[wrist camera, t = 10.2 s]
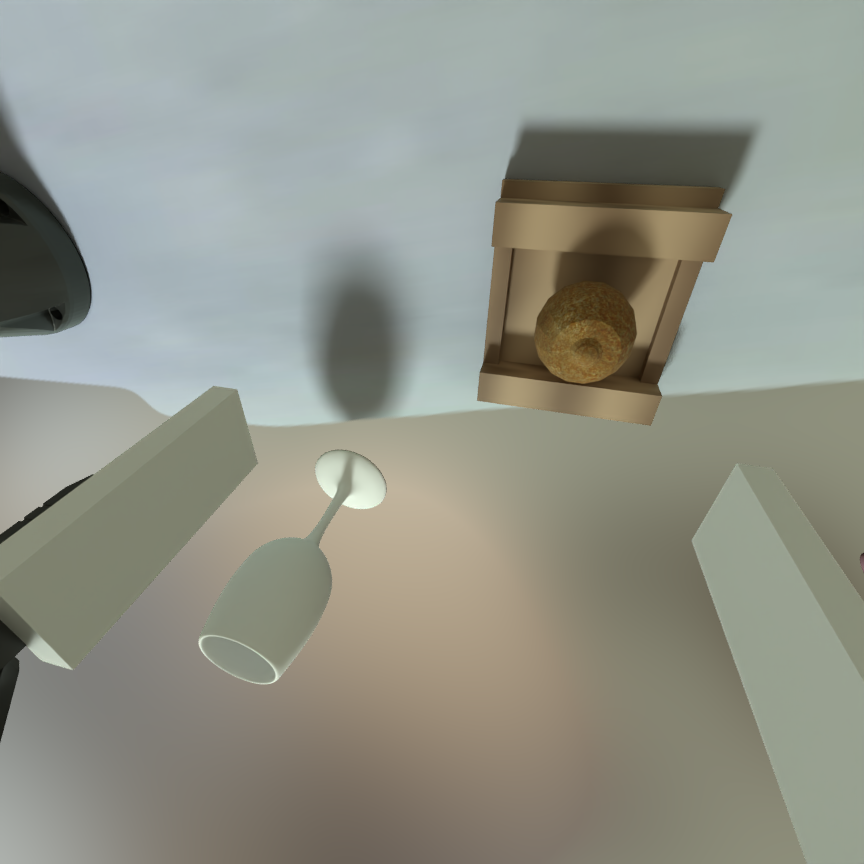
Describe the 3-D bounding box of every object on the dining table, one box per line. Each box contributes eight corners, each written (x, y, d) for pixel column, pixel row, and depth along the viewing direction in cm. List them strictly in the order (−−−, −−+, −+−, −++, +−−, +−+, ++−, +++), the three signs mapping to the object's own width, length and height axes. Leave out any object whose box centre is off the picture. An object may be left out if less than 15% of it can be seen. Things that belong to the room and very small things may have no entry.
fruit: (579, 367, 32) (584, 423, 26) (519, 317, 31) (508, 361, 25) (648, 306, 29) (673, 353, 22) (582, 247, 28) (588, 278, 21)
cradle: (483, 389, 37) (476, 411, 34) (504, 178, 28) (497, 183, 25) (639, 410, 34) (646, 436, 31) (719, 187, 25) (740, 193, 22)
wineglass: (369, 444, 44) (251, 629, 27) (398, 505, 48) (310, 697, 31) (303, 453, 47) (162, 623, 31) (335, 509, 51) (226, 686, 35)
